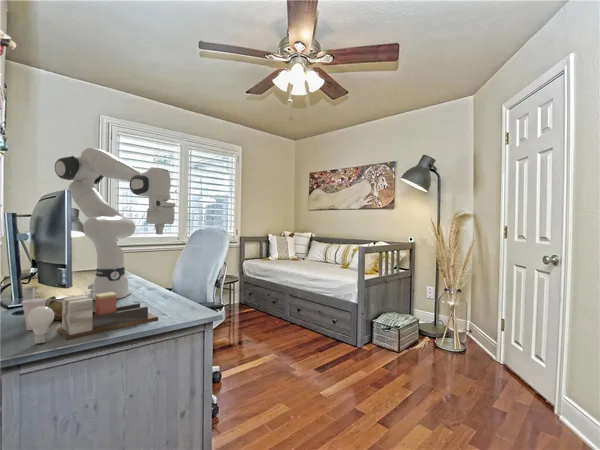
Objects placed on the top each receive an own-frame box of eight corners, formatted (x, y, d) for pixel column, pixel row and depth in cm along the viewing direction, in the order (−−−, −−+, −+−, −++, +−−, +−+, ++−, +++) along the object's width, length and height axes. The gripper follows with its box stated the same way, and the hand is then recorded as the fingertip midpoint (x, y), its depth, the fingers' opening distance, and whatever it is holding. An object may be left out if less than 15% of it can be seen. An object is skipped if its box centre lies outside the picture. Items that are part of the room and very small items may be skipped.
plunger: (94, 322, 109) (94, 294, 109) (111, 318, 113) (111, 291, 113) (99, 325, 106) (99, 296, 106) (117, 322, 110) (117, 294, 110)
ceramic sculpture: (43, 292, 122) (84, 294, 123) (41, 314, 122) (83, 315, 123) (22, 299, 111) (68, 300, 113) (20, 323, 111) (66, 324, 113)
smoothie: (17, 333, 101) (18, 289, 101) (25, 327, 107) (26, 286, 107) (42, 330, 104) (42, 288, 104) (48, 324, 110) (49, 285, 110)
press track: (57, 330, 104) (58, 297, 104) (144, 313, 125) (145, 285, 125) (66, 339, 96) (67, 304, 96) (158, 319, 117) (158, 290, 117)
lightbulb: (38, 348, 89) (38, 310, 89) (20, 346, 91) (20, 308, 90) (59, 340, 95) (59, 304, 95) (42, 338, 97) (42, 303, 97)
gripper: (142, 203, 144) (142, 233, 144) (162, 202, 130) (162, 235, 130) (156, 204, 148) (156, 233, 148) (177, 202, 135) (177, 235, 135)
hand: (159, 234), depth 139 cm, fingers closed
